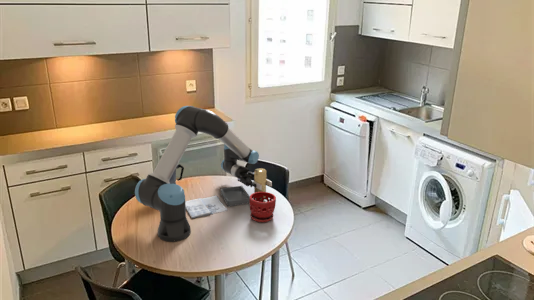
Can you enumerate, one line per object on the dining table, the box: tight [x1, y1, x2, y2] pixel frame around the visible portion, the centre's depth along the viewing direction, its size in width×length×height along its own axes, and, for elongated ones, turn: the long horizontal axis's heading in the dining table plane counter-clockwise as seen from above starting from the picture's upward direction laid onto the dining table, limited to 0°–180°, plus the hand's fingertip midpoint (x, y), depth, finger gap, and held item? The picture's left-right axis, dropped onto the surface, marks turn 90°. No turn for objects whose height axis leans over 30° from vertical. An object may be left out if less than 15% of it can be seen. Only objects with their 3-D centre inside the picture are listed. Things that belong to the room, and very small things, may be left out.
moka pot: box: [169, 163, 185, 184], centre depth 232 cm, size 10×15×20 cm, turn 115°
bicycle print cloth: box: [185, 195, 228, 219], centre depth 223 cm, size 19×20×2 cm
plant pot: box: [248, 191, 277, 223], centre depth 212 cm, size 13×13×12 cm
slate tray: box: [220, 185, 250, 207], centre depth 233 cm, size 17×13×3 cm
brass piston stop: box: [253, 167, 267, 201], centre depth 228 cm, size 6×6×16 cm
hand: (266, 185), depth 224 cm, fingers closed on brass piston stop, 6 cm apart
